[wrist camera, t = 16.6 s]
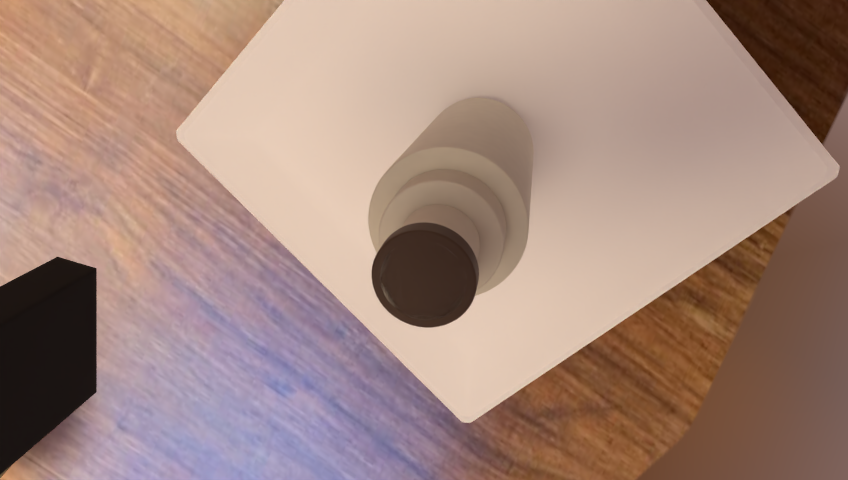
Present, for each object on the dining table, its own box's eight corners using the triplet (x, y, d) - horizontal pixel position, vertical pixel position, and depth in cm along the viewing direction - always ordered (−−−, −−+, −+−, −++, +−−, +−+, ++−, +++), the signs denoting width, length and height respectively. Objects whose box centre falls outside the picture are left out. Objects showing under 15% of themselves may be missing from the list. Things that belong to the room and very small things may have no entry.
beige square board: (501, -243, 29) (498, -261, 27) (828, 163, 33) (846, 173, 31) (188, 129, 38) (170, 135, 37) (468, 409, 42) (465, 428, 40)
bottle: (547, 113, 32) (551, 215, 17) (516, 217, 35) (494, 390, 19) (437, 85, 33) (343, 160, 17) (414, 189, 35) (313, 337, 20)
